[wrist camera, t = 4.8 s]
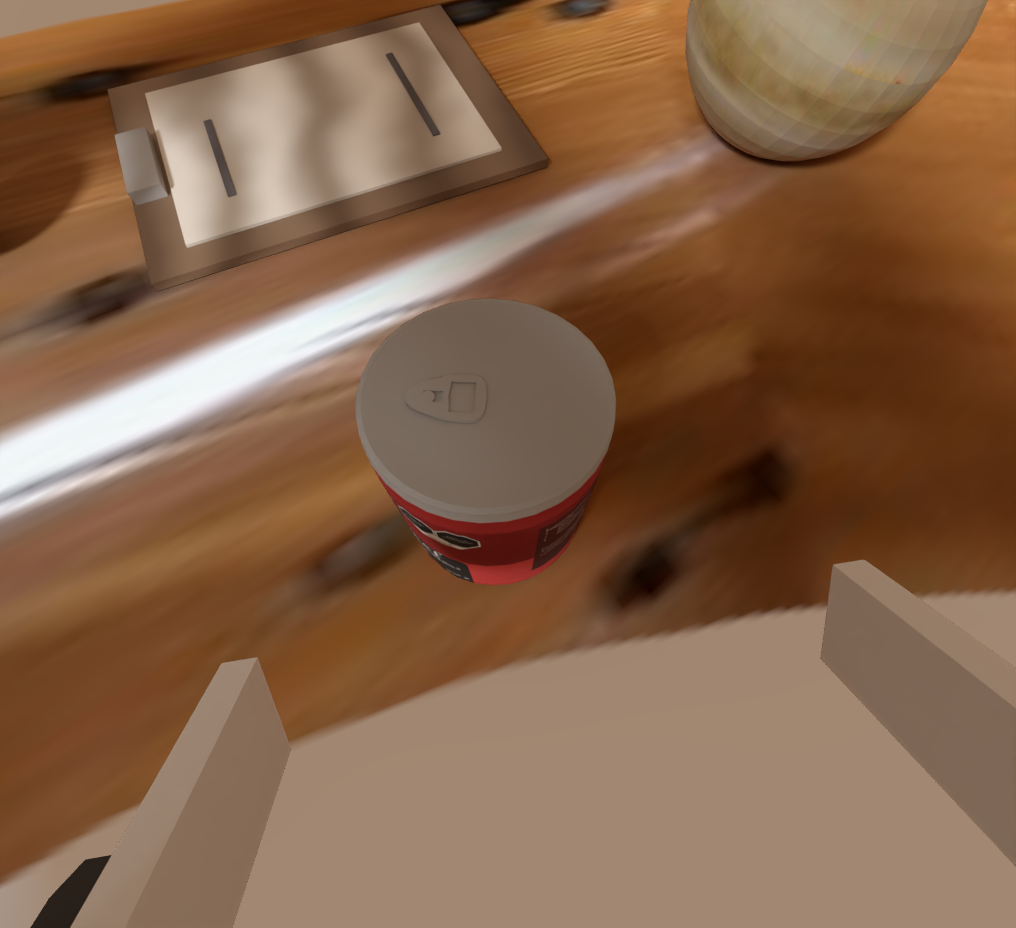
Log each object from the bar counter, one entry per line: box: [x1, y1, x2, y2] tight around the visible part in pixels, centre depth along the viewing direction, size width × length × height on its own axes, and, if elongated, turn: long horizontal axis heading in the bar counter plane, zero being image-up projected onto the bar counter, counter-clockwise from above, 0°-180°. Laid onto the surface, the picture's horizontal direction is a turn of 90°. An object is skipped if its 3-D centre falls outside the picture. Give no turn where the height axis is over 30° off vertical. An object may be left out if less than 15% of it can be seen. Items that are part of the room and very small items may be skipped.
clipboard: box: [107, 5, 548, 291], centre depth 36 cm, size 26×20×2 cm
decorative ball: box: [685, 0, 988, 161], centre depth 30 cm, size 15×15×15 cm
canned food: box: [355, 298, 616, 585], centre depth 21 cm, size 8×8×11 cm
